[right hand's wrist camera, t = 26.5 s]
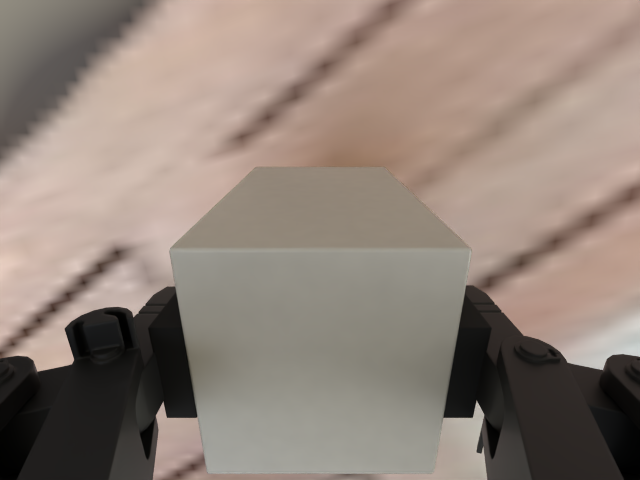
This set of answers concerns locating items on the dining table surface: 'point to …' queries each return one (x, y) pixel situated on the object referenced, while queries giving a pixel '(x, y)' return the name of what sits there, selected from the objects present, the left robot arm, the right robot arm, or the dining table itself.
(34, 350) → the dining table surface
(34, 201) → the dining table surface
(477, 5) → the dining table surface
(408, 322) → the block
